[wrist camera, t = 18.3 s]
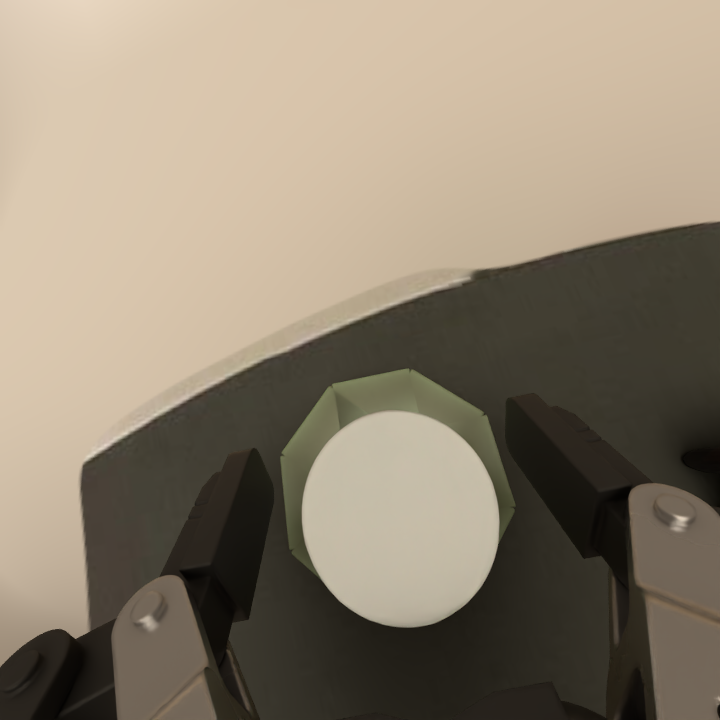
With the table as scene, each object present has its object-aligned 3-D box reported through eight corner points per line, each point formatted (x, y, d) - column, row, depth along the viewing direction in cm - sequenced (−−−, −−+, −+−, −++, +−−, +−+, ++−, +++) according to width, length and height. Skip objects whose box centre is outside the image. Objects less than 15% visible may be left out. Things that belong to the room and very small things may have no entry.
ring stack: (310, 607, 16) (286, 651, 13) (287, 402, 20) (263, 388, 16) (519, 568, 16) (559, 600, 12) (458, 367, 20) (475, 344, 16)
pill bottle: (320, 502, 14) (233, 552, 6) (372, 411, 15) (354, 355, 7) (415, 566, 13) (455, 726, 5) (464, 464, 14) (560, 465, 6)
